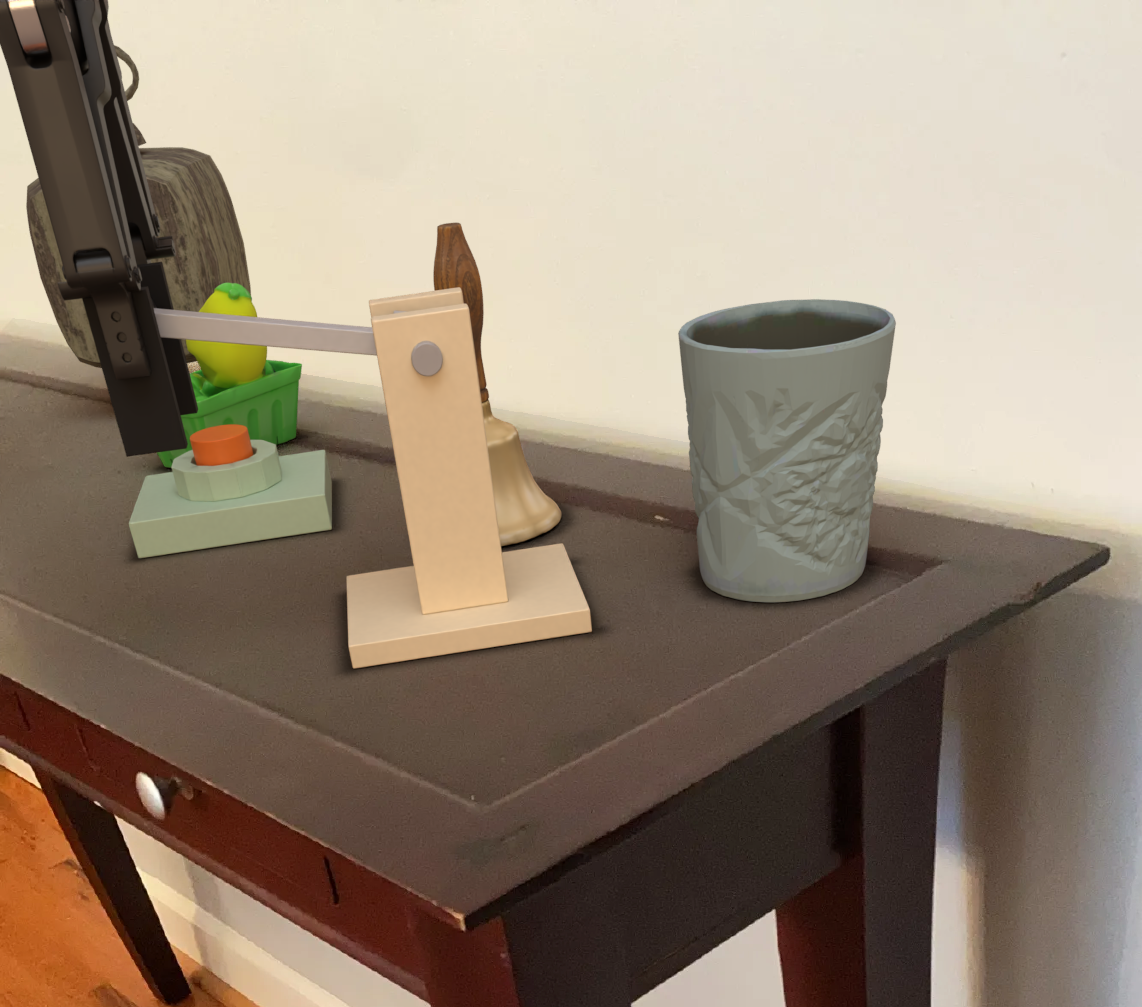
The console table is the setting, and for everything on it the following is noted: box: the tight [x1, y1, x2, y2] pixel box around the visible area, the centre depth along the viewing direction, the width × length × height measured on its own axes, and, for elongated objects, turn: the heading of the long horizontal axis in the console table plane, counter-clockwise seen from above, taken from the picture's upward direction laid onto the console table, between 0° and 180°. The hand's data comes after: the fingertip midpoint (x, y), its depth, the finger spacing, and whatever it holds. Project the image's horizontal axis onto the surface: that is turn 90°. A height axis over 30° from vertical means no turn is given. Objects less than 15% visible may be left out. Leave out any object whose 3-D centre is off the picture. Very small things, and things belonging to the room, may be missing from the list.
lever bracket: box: [345, 287, 593, 669], centre depth 68 cm, size 12×10×15 cm
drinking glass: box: [677, 298, 897, 603], centre depth 69 cm, size 10×10×12 cm
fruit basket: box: [156, 283, 303, 469], centre depth 99 cm, size 11×9×11 cm
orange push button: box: [190, 424, 254, 466], centre depth 87 cm, size 4×4×2 cm
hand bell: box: [433, 222, 562, 547], centre depth 78 cm, size 8×8×16 cm
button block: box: [127, 440, 333, 559], centre depth 88 cm, size 12×10×4 cm
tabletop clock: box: [25, 44, 252, 369], centre depth 108 cm, size 14×9×25 cm, turn 84°
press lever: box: [151, 299, 406, 357], centre depth 64 cm, size 15×6×2 cm, turn 98°
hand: (163, 430), depth 65 cm, fingers closed on press lever, 5 cm apart
